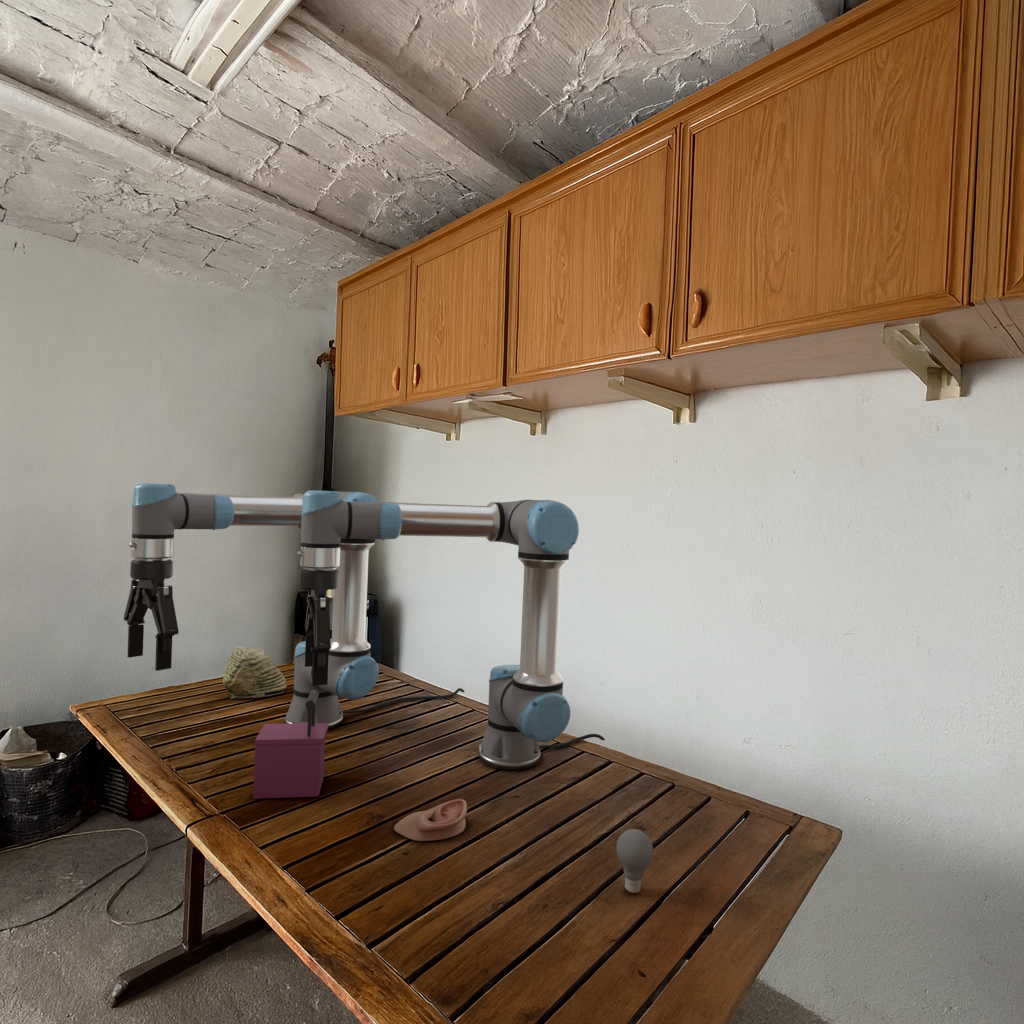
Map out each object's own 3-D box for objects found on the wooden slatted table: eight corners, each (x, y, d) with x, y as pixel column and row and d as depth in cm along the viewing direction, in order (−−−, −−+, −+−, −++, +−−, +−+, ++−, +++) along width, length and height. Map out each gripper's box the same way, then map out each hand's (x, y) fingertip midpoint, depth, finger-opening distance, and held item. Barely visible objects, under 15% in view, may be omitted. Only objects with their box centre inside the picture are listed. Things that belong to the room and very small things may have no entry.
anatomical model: (388, 815, 119) (410, 788, 130) (387, 836, 119) (409, 808, 130) (456, 826, 116) (472, 797, 127) (455, 847, 116) (471, 817, 128)
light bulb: (610, 879, 108) (613, 822, 108) (644, 879, 109) (647, 822, 109) (619, 902, 102) (622, 840, 102) (655, 901, 103) (658, 840, 103)
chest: (323, 777, 143) (325, 728, 143) (318, 796, 134) (320, 744, 134) (262, 779, 141) (264, 729, 141) (252, 798, 132) (254, 745, 131)
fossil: (218, 695, 195) (220, 647, 195) (278, 685, 208) (279, 640, 207) (228, 703, 189) (230, 653, 188) (289, 692, 201) (290, 645, 201)
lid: (328, 728, 143) (329, 688, 143) (323, 744, 134) (324, 701, 134) (264, 729, 141) (266, 688, 140) (254, 745, 131) (256, 702, 131)
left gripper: (108, 554, 134) (104, 654, 134) (159, 565, 118) (155, 678, 119) (146, 552, 140) (143, 648, 140) (199, 563, 124) (195, 671, 124)
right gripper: (294, 561, 135) (290, 660, 136) (306, 576, 112) (301, 695, 113) (330, 561, 138) (326, 658, 139) (349, 576, 115) (344, 691, 116)
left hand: (148, 662), depth 129 cm, fingers open, 13 cm apart
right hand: (315, 675), depth 126 cm, fingers open, 13 cm apart
